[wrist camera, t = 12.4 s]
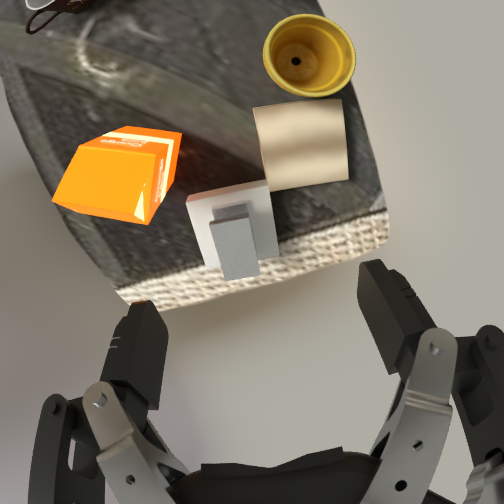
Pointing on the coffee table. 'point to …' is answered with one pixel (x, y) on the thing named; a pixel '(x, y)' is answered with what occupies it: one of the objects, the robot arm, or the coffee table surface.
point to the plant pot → (309, 55)
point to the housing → (234, 240)
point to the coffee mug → (55, 9)
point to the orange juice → (121, 174)
